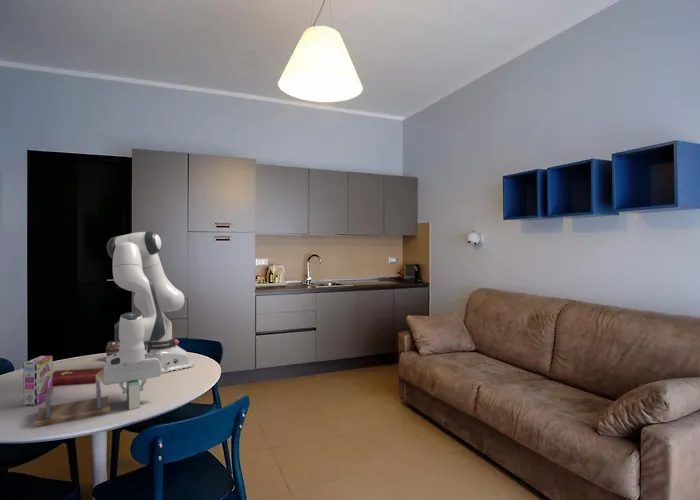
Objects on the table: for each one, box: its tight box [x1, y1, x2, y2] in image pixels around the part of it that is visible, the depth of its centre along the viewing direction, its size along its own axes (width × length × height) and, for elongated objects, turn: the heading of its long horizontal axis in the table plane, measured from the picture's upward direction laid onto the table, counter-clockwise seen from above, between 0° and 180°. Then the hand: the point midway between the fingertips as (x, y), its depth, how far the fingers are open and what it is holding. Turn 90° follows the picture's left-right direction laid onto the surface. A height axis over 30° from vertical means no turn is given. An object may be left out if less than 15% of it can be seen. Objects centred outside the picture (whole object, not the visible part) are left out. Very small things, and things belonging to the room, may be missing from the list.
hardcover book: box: [53, 367, 104, 387], centre depth 196 cm, size 12×21×4 cm, turn 101°
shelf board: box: [35, 395, 111, 428], centre depth 160 cm, size 22×16×2 cm
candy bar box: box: [22, 355, 54, 406], centre depth 172 cm, size 11×5×16 cm, turn 5°
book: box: [126, 380, 141, 410], centre depth 168 cm, size 4×11×9 cm, turn 31°
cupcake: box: [105, 339, 120, 358], centre depth 231 cm, size 10×10×10 cm
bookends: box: [45, 380, 102, 420], centre depth 160 cm, size 16×13×7 cm
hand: (133, 391), depth 168 cm, fingers open, 4 cm apart
